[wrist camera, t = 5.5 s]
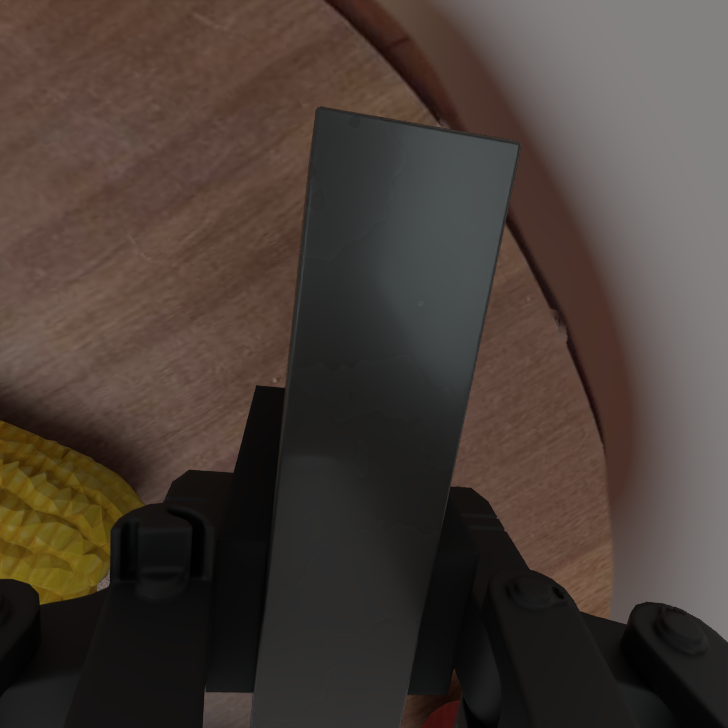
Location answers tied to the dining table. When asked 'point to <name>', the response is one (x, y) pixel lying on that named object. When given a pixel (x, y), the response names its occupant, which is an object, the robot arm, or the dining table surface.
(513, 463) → the dining table surface
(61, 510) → the food
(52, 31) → the dining table surface
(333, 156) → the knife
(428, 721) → the onion
